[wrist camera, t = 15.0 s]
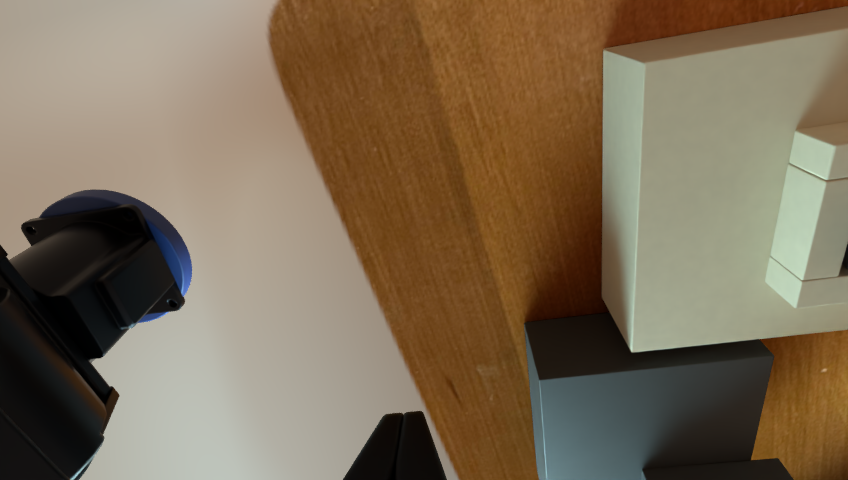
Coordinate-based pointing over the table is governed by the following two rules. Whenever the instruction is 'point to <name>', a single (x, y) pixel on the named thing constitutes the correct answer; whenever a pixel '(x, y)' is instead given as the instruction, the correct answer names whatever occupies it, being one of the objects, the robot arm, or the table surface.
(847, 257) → the ebony key
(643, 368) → the grey stepped base
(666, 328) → the block
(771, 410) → the table surface
